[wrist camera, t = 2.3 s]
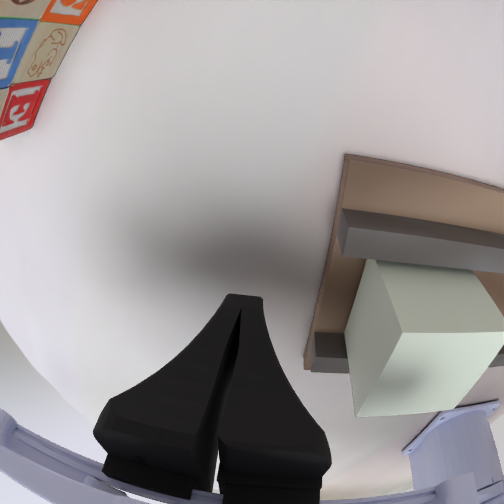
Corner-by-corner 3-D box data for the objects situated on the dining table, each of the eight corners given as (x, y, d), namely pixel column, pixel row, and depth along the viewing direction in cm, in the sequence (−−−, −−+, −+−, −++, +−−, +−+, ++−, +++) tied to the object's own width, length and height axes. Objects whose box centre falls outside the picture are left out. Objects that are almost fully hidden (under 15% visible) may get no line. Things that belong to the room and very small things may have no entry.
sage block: (427, 335, 15) (453, 409, 10) (343, 332, 15) (355, 416, 11) (462, 258, 12) (512, 331, 8) (369, 247, 12) (402, 332, 8)
